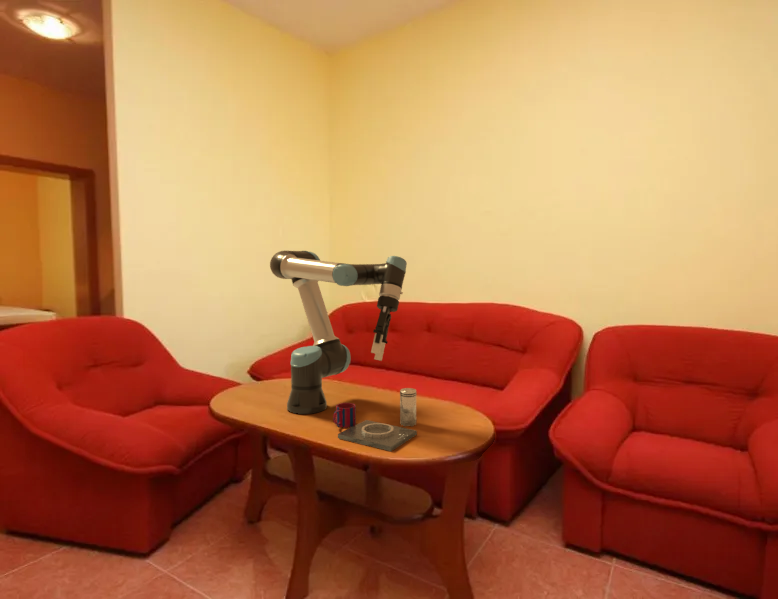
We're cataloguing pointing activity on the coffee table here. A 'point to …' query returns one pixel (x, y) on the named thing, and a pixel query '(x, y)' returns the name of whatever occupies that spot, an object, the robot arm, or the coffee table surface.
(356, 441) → the grey base plate
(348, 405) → the mug
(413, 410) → the disc
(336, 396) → the coffee table surface
